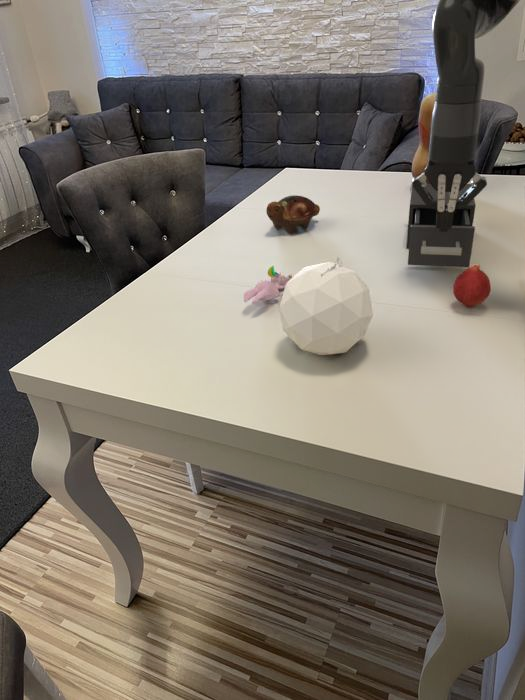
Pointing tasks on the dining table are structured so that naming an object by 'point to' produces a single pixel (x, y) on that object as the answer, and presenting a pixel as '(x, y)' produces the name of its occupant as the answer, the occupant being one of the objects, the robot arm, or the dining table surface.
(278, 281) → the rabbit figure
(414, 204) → the cabinet
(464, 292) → the onion
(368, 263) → the dining table surface
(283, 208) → the decorative turtle
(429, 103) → the butternut squash
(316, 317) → the geodesic sphere
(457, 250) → the drawer
